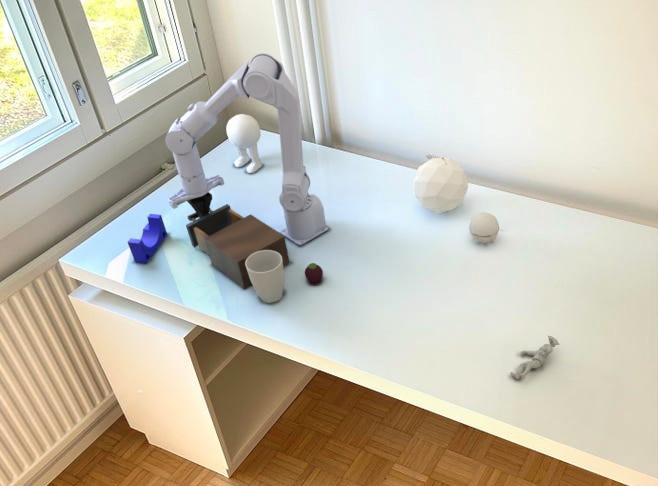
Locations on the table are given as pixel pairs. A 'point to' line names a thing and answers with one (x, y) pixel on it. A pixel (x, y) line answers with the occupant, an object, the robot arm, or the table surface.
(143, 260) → the cable clip
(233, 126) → the toy character
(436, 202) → the geodesic sphere
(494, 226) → the grey rounded domed piece
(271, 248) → the cabinet
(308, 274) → the mangosteen
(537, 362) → the soldier figure
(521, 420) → the table surface
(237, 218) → the drawer
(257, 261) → the cup
